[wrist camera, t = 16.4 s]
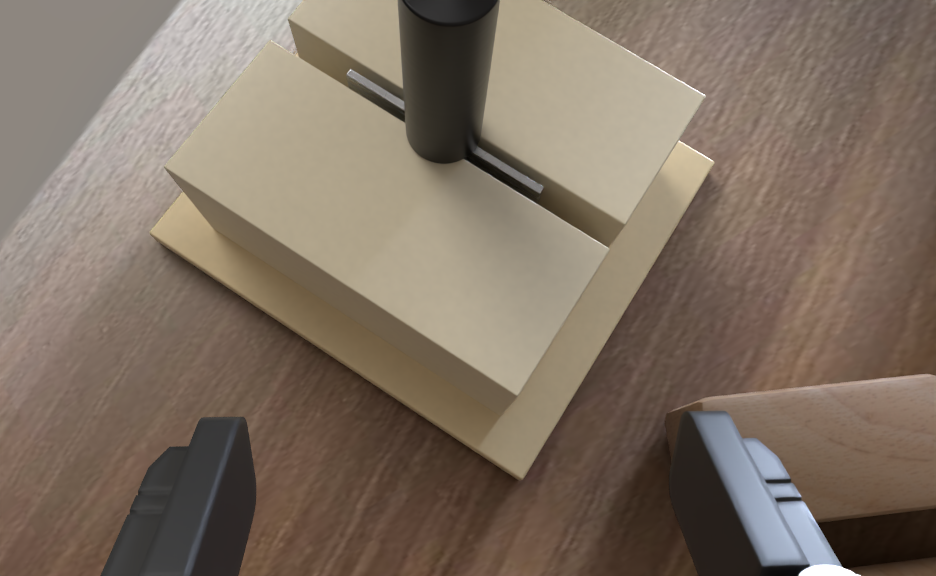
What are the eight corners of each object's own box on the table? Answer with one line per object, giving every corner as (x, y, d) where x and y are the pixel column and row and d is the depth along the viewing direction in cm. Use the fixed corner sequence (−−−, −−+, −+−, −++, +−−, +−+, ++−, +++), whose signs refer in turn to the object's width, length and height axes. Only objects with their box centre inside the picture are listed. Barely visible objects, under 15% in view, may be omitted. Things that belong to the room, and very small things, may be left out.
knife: (344, 170, 32) (284, -65, 19) (380, 123, 33) (345, -135, 20) (505, 271, 32) (562, 101, 18) (537, 221, 32) (616, 22, 19)
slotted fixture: (156, 240, 32) (83, 172, 25) (374, -28, 36) (362, -148, 29) (519, 481, 30) (545, 476, 24) (707, 171, 34) (776, 90, 28)
